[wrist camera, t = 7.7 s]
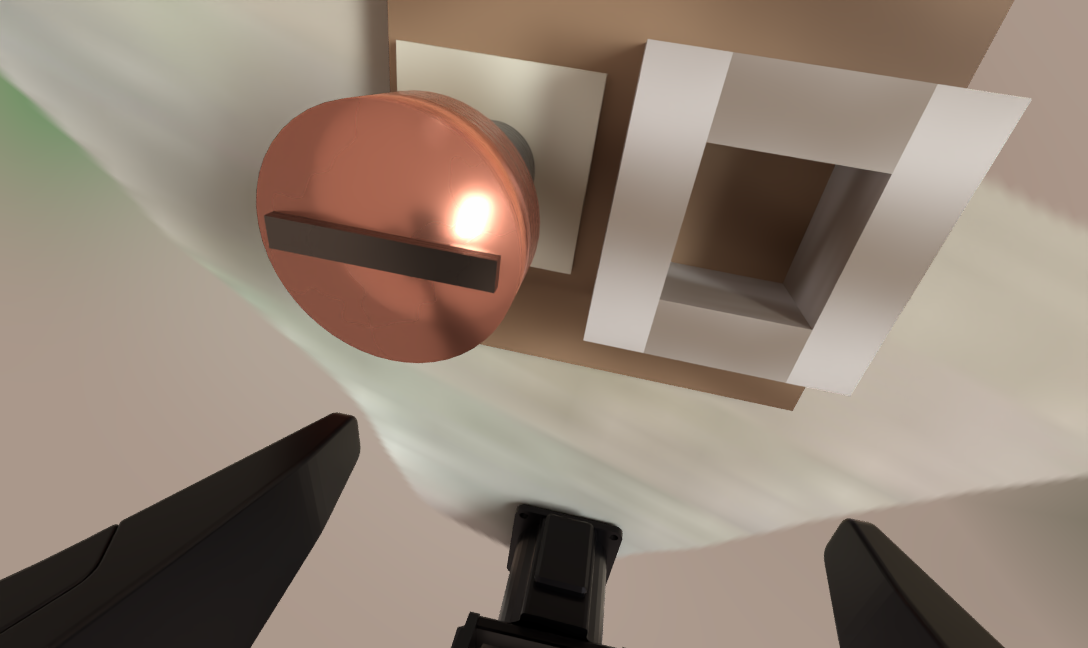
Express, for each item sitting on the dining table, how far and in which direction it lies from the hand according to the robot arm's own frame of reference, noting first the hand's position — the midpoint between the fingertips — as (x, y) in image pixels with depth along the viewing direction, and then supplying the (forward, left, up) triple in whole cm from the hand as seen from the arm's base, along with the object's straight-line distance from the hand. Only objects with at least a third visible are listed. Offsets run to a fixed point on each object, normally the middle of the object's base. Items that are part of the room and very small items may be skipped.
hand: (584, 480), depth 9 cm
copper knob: (+3, +5, -11) cm, 12 cm away
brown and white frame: (+3, 0, -13) cm, 13 cm away
